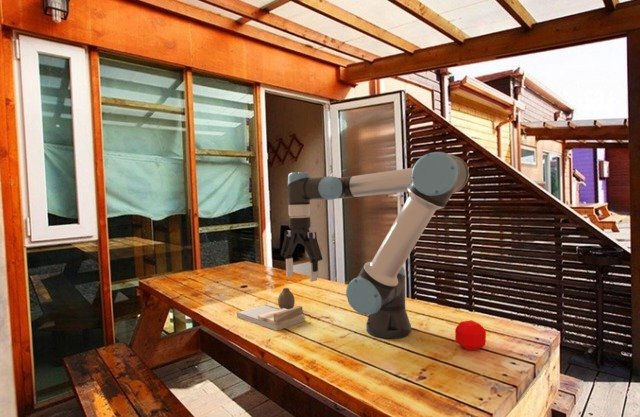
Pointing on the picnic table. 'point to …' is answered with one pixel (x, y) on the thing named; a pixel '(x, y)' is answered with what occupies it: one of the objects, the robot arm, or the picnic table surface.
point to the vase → (286, 299)
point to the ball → (470, 335)
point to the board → (253, 317)
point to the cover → (282, 315)
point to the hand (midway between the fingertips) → (301, 278)
